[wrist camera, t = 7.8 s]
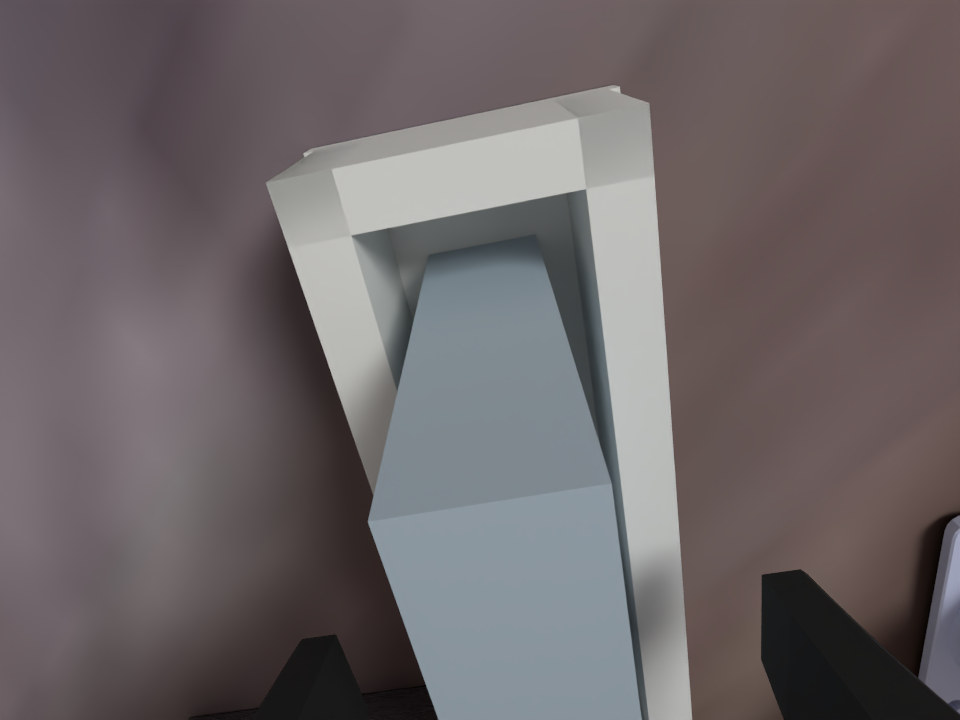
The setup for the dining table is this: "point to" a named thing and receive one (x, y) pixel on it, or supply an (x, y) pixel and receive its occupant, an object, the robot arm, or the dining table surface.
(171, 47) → the dining table surface
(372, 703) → the rack
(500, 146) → the holder
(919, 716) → the robot arm
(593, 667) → the chamfered blue-grey beam
